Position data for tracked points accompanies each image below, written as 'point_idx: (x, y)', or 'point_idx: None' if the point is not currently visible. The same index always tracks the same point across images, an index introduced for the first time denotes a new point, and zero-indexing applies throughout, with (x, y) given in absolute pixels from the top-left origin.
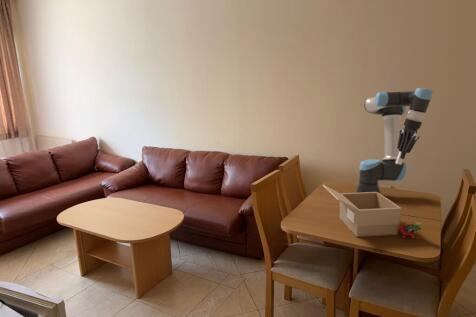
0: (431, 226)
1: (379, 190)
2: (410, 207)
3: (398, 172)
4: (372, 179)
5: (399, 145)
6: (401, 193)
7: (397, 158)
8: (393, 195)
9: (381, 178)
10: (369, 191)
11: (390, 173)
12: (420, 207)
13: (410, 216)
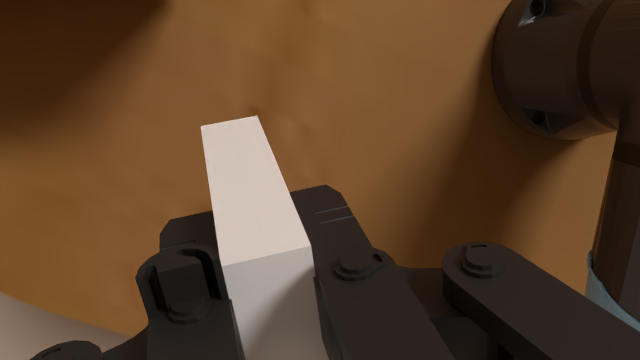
0: (47, 282)
1: (561, 130)
2: None
3: (627, 290)
4: (616, 63)
5: (507, 341)
6: (568, 282)
7: (250, 158)
8: (543, 224)
9: (616, 143)
10: (537, 41)
11: (631, 221)
12: None
13: (205, 210)
